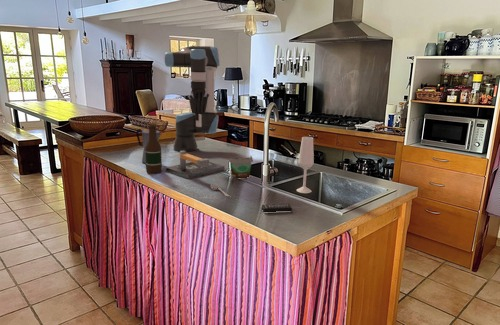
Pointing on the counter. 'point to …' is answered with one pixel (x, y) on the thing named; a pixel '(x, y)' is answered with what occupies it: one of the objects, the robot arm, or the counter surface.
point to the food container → (240, 167)
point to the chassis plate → (194, 170)
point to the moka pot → (145, 140)
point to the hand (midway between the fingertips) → (198, 126)
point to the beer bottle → (153, 152)
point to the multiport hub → (276, 207)
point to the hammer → (191, 160)
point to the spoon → (217, 189)
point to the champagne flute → (306, 160)
